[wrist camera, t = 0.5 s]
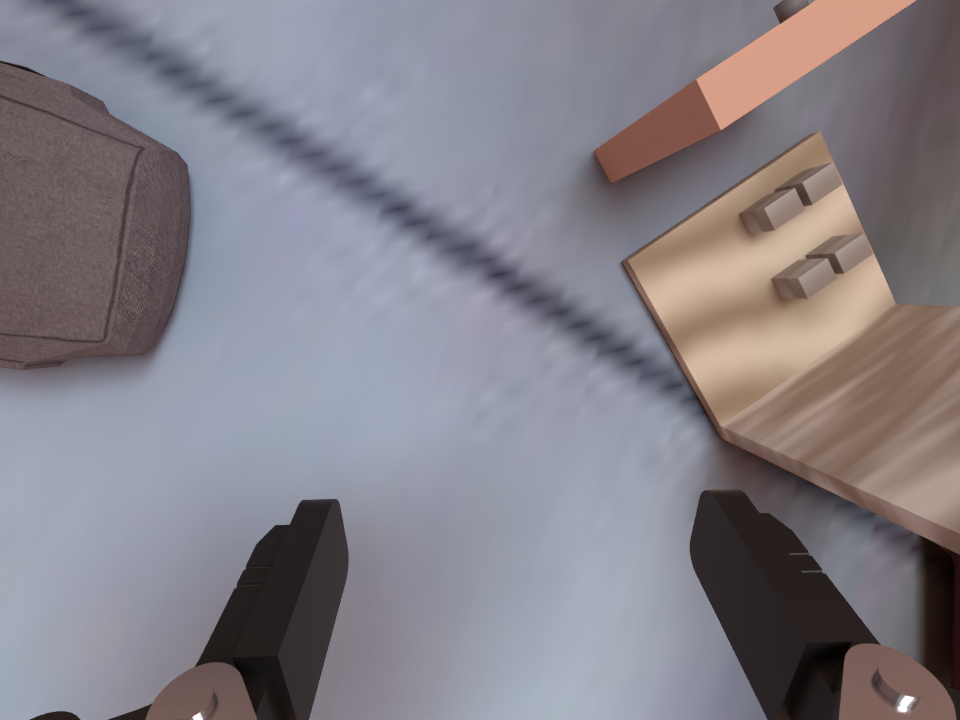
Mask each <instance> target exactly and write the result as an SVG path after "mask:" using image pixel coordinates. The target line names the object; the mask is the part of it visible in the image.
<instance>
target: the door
mask: <svg viewBox="0 0 960 720" xmlns="http://www.w3.org/2000/svg"><path fill="white" fill-rule="evenodd" d="M914 1H916V0H816V1H814V2H813V3H811V4H810V5H809V3H808V0H783V1H782V2H780V3H779V4H778V5H776V6H775V7H774V8H773V9H774V11H775V13H776V15H777V18H778V20H779V22H780V24H779V25H778V26H776V27H775V28H773V29H772V30H770V31H769V32H767V33H766V34H764V35H763V36H761V37H760V38H758V39H757V40H755V41H754V42H752V43H751V44H749V45H748V46H746V47H745V48H743V49H742V50H740V51H739V52H737V53H736V54H734V55H732V56H731V57H729V58H728V59H726V60H725V61H723V62H722V63H720V64H719V65H717V66H716V67H714V68H713V69H711V70H710V71H708V72H707V73H705V74H704V75H702V76H701V77H699V78H698V79H696V80H695V81H693V82H692V83H690V84H689V85H688V86H686V87H685V88H683V89H682V90H680V91H679V92H678V93H676V94H675V95H673V96H672V97H670V98H669V99H668V100H666V101H665V102H663V103H662V104H660V105H659V106H658V107H656V108H655V109H653V110H652V111H650V112H649V113H647V114H646V115H645V116H643V117H642V118H640V119H639V120H637V121H636V122H635V123H633V124H632V125H630V126H629V127H627V128H626V129H625V130H623V131H622V132H620V133H619V134H617V135H616V136H615V137H613V138H612V139H610V140H609V141H607V142H606V143H605V144H603V145H602V146H600V147H599V148H597V149H596V150H595V151H594V153H595V155H596V157H597V158H598V160H599V162H600V164H601V166H602V167H603V169H604V171H605V173H606V175H607V177H608V178H609V180H610V182H611V183H613V182H615V181H617V180H619V179H621V178H624V177H626V176H628V175H630V174H632V173H634V172H636V171H638V170H640V169H642V168H644V167H646V166H648V165H650V164H652V163H655V162H657V161H659V160H661V159H663V158H665V157H667V156H669V155H671V154H673V153H675V152H677V151H679V150H681V149H683V148H686V147H688V146H690V145H692V144H694V143H696V142H698V141H700V140H702V139H704V138H706V137H708V136H710V135H712V134H714V133H717V132H719V131H721V130H722V129H724V128H725V127H727V126H728V125H730V124H731V123H733V122H734V121H736V120H737V119H739V118H740V117H742V116H743V115H745V114H746V113H748V112H749V111H751V110H752V109H754V108H755V107H757V106H758V105H760V104H761V103H763V102H764V101H766V100H767V99H769V98H770V97H772V96H773V95H775V94H776V93H778V92H779V91H781V90H782V89H784V88H785V87H787V86H788V85H790V84H791V83H793V82H794V81H796V80H797V79H799V78H800V77H802V76H803V75H805V74H806V73H808V72H809V71H811V70H812V69H814V68H815V67H817V66H818V65H820V64H821V63H823V62H824V61H826V60H827V59H829V58H830V57H832V56H833V55H835V54H836V53H838V52H839V51H841V50H842V49H844V48H845V47H847V46H848V45H850V44H851V43H853V42H854V41H856V40H857V39H859V38H860V37H862V36H863V35H865V34H866V33H868V32H869V31H871V30H872V29H874V28H875V27H877V26H878V25H880V24H881V23H883V22H884V21H886V20H887V19H889V18H890V17H892V16H893V15H895V14H896V13H898V12H899V11H901V10H902V9H904V8H905V7H907V6H908V5H910V4H911V3H913V2H914Z"/></svg>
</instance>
